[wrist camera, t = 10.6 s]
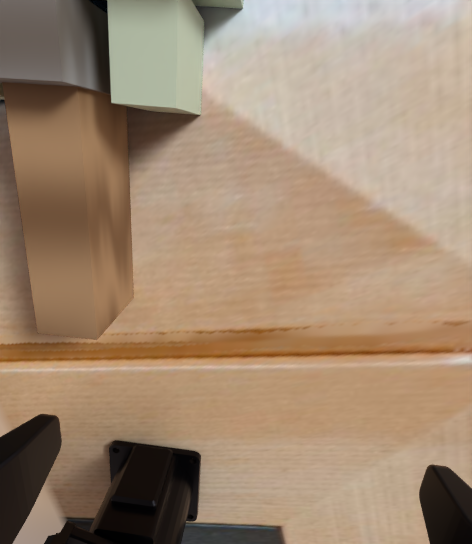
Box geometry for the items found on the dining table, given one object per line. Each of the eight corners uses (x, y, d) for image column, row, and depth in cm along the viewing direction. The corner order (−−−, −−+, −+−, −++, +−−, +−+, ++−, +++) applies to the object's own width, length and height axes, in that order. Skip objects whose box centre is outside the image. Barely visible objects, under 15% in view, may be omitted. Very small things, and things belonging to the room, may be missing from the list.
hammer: (137, 297, 22) (87, 357, 16) (82, 292, 23) (12, 349, 17) (129, 30, 18) (52, -26, 12) (58, 26, 18) (-53, -30, 12)
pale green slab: (235, 117, 18) (213, 107, 12) (-31, 97, 19) (-186, 76, 13) (245, -24, 16) (225, -130, 10) (-53, -40, 17) (-251, -146, 11)
